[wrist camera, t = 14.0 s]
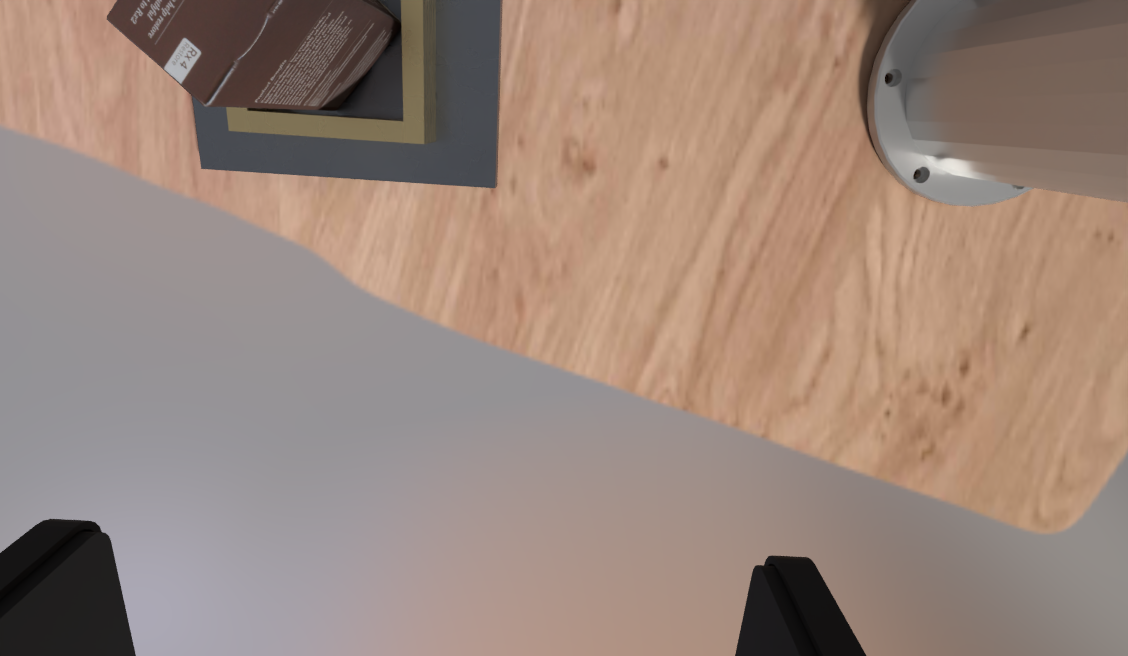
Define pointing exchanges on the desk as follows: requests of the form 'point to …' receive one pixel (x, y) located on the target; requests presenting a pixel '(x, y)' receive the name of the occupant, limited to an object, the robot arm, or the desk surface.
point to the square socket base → (386, 110)
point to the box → (261, 47)
